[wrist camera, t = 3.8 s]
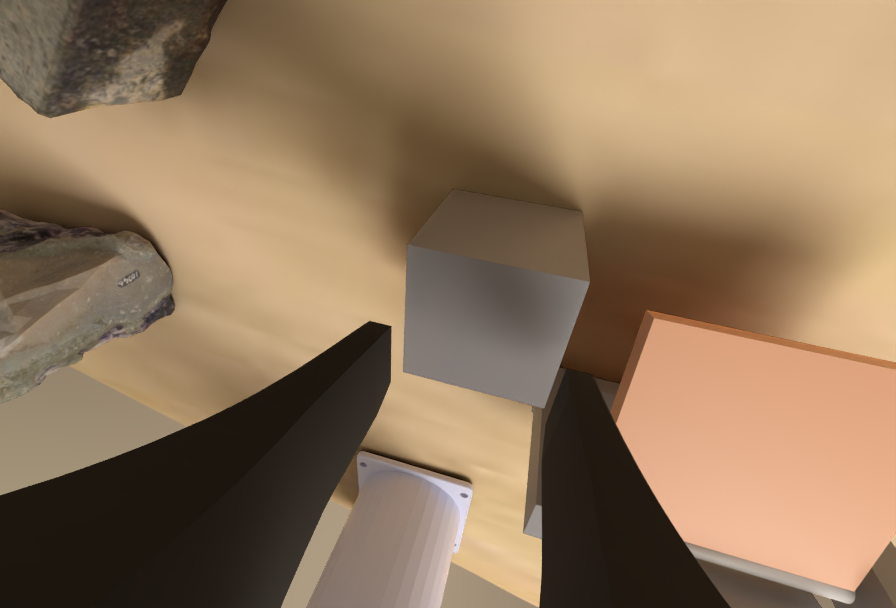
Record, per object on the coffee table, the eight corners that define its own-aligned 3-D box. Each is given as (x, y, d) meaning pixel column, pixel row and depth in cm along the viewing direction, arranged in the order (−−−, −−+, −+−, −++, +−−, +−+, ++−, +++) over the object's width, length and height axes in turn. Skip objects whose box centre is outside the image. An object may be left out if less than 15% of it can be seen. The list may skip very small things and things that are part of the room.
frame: (780, 463, 17) (880, 653, 12) (532, 399, 19) (520, 539, 14) (816, 429, 16) (948, 628, 10) (544, 363, 18) (535, 504, 12)
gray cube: (549, 316, 16) (544, 408, 12) (442, 293, 17) (403, 372, 13) (582, 211, 14) (590, 282, 9) (453, 188, 14) (407, 245, 10)
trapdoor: (763, 640, 14) (806, 722, 12) (542, 568, 16) (544, 631, 13) (940, 365, 11) (1049, 411, 8) (632, 301, 12) (655, 326, 10)
